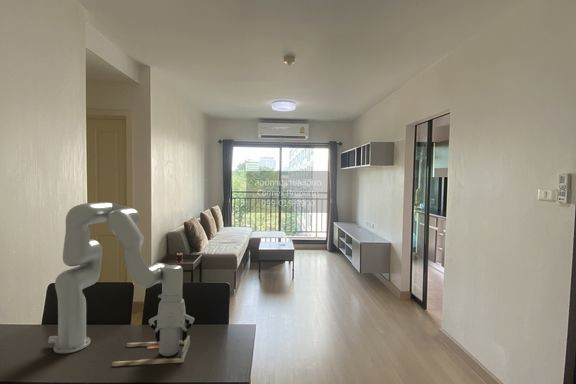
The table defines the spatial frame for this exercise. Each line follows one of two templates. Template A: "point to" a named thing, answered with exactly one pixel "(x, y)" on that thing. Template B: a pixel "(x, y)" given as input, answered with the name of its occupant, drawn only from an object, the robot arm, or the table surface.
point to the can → (169, 341)
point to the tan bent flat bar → (154, 361)
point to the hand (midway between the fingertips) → (171, 340)
